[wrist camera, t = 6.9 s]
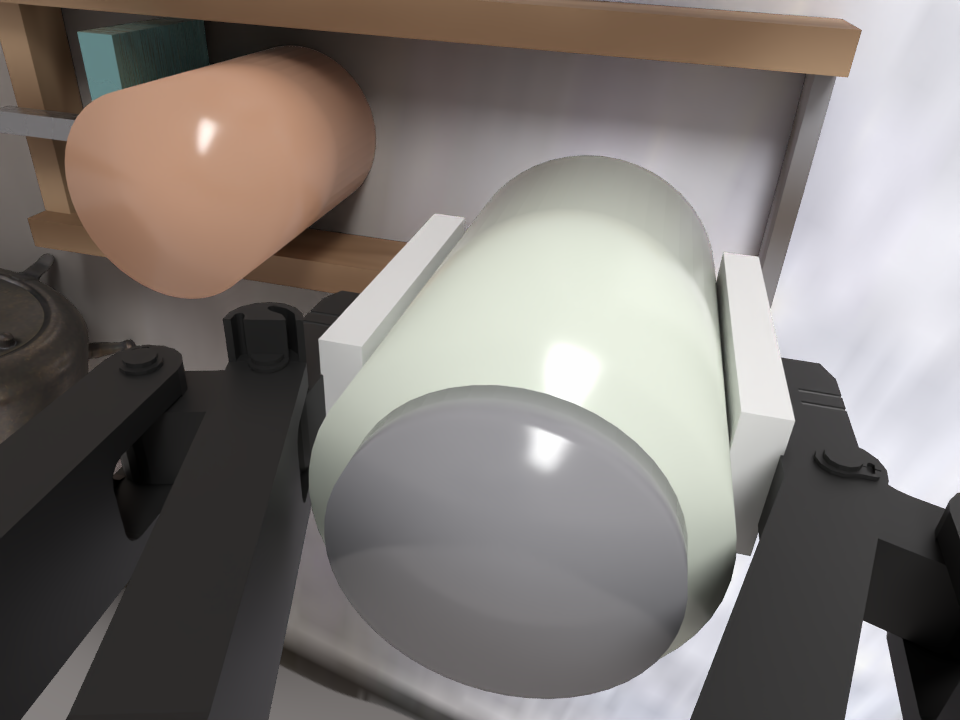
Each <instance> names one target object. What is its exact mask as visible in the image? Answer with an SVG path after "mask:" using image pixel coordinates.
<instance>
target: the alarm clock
mask: <svg viewBox="0 0 960 720" xmlns="http://www.w3.org/2000/svg"><path fill="white" fill-rule="evenodd" d="M53 260H54V256H52V255H51V254H45V255H43V256H42V257H40V258H39V260H38V261H37V262H36V263H34V264H33V265H32V266H30V267H29V268H28V269H27V270H25V271H24V272H19V273H16V272H12V271H9V270H5V269H1V268H0V444H1V443H2V442H3V441H5V440H6V439H7V438H8V437H10V436H11V435H12V434H13V433H15V432H16V431H17V430H18V429H20V428H21V427H22V426H23V425H25V424H26V423H27V422H28V421H29V420H31V419H32V418H33V417H34V416H36V415H37V414H38V413H39V412H41V411H42V410H43V409H44V408H46V407H47V406H48V405H49V404H51V403H52V402H53V401H54V400H56V399H57V398H58V397H59V396H61V395H62V394H63V393H64V392H66V391H67V390H68V389H69V388H71V387H72V386H73V385H74V384H76V383H77V382H78V381H79V380H81V379H82V378H83V377H84V376H85V375H87V374H88V359H90V358H99V357H102V356H106V355H110V354H113V353H116V352H119V351H123V350H126V349H129V348H131V347H134V346H135V343H134V342H133V341H132V340H126V341H123V342H119V343H118V342H114V343H110V342H99V343H89V337H88V331H87V326H86V324H85V321H84V319H83V317H82V316H81V314H80V313H79V311H78V310H77V309H76V308H75V306H74V305H73V304H72V303H71V302H70V301H69V300H68V299H66V298H65V297H64V296H63V295H62V294H60V293H59V292H57V291H56V290H54V289H53V288H51V287H49V286H48V285H46V284H44V283H42V282H40V277H41V276H42V275H43V274H44V273H45V272H46V271H47V270H48V269H49V268H50V267H51V266H52V264H53Z"/></svg>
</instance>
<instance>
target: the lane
mask: <svg viewBox="0 0 960 720" xmlns="http://www.w3.org/2000/svg"><path fill="white" fill-rule="evenodd" d="M60 7H62V8H73V9H84V10H96V11H107V12H118V13H129V14H141V15H152V16H163V17H174V18H186V19H197V20H208V21H219V22H231V23H242V24H253V25H264V26H276V27H287V28H298V29H309V30H321V31H332V32H343V33H354V34H366V35H377V36H388V37H399V38H411V39H422V40H433V41H444V42H456V43H467V44H478V45H490V46H501V47H512V48H523V49H535V50H546V51H557V52H568V53H580V54H591V55H602V56H613V57H625V58H636V59H647V60H658V61H670V62H681V63H692V64H703V65H715V66H726V67H737V68H748V69H760V70H771V71H782V72H793V73H805V74H806V77H805V81H804V85H803V88H802V92H801V96H800V100H799V104H798V107H797V111H796V115H795V119H794V123H793V126H792V130H791V134H790V138H789V141H788V145H787V149H786V153H785V157H784V160H783V164H782V168H781V172H780V176H779V179H778V183H777V187H776V191H775V195H774V198H773V202H772V206H771V210H770V214H769V217H768V221H767V225H766V229H765V233H764V236H763V240H762V244H761V248H760V251H759V255H758V257H759V261H760V265H761V270H762V274H763V279H764V283H765V288H766V292H767V297H768V301H769V306H770V309H771V305H772V302H773V298H774V295H775V291H776V288H777V284H778V281H779V277H780V273H781V270H782V266H783V263H784V259H785V256H786V252H787V249H788V245H789V242H790V238H791V235H792V231H793V228H794V224H795V221H796V217H797V214H798V210H799V207H800V203H801V200H802V196H803V193H804V189H805V185H806V182H807V178H808V175H809V171H810V168H811V164H812V161H813V157H814V154H815V150H816V147H817V143H818V140H819V136H820V133H821V129H822V126H823V122H824V119H825V115H826V112H827V108H828V105H829V101H830V98H831V94H832V90H833V87H834V83H835V80H836V76H839V77H848V76H849V72H850V69H851V65H852V62H853V58H854V55H855V52H856V48H857V45H858V41H859V38H860V34H861V31H862V30H861V29H859V28H857V27H855V26H853V25H852V24H850V23H848V22H846V21H844V20H843V19H834V18H820V17H807V16H794V15H781V14H767V13H754V12H741V11H727V10H714V9H701V8H688V7H674V6H661V5H648V4H635V3H621V2H608V1H595V0H0V41H1V45H2V49H3V52H4V56H5V60H6V64H7V67H8V71H9V75H10V79H11V82H12V86H13V90H14V94H15V97H16V101H17V105H18V107H23V108H31V109H40V110H48V111H57V112H65V113H73V114H80V113H81V111H82V110H83V107H82V102H81V98H80V93H79V89H78V84H77V80H76V75H75V71H74V66H73V62H72V57H71V53H70V48H69V44H68V39H67V35H66V30H65V26H64V21H63V17H62V12H61V8H60ZM26 139H27V142H28V146H29V150H30V154H31V157H32V161H33V165H34V168H35V172H36V176H37V180H38V183H39V187H40V191H41V195H42V198H43V202H44V206H45V210H46V211H43V212H41V213H39V214H36V215H34V216H32V217H29V218H28V222H29V225H30V229H31V233H32V236H33V240H34V243H35V246H38V247H44V248H51V249H57V250H63V251H70V252H76V253H82V254H89V255H95V256H101V257H106V256H105V255H104V254H103V253H102V251H101V250H100V249H99V248H98V247H97V245H96V244H95V243H94V241H93V240H92V239H91V237H90V236H89V234H88V233H87V231H86V230H85V228H84V226H83V224H82V222H81V221H80V219H79V217H78V215H77V212H76V210H75V208H74V205H73V203H72V200H71V196H70V193H69V190H68V185H67V180H66V174H65V149H66V144H67V141H62V140H54V139H46V138H39V137H31V136H26ZM406 244H407V242H400V241H393V240H386V239H379V238H372V237H365V236H358V235H351V234H344V233H337V232H330V231H323V230H316V229H308V228H307V229H306V230H304V231H303V232H302V233H301V234H299V235H298V236H297V237H295V238H294V239H293V240H291V241H290V242H289V243H288V244H286V245H285V246H284V247H282V248H281V249H280V250H279V251H277V252H276V253H275V254H273V255H272V256H271V257H269V258H268V259H267V260H266V261H264V262H263V263H262V264H260V265H259V266H258V267H257V268H255V269H254V270H253V271H251V272H250V273H249V274H247V275H246V276H245V277H244V278H242V279H247V280H253V281H259V282H266V283H272V284H278V285H285V286H291V287H297V288H304V289H310V290H316V291H323V292H329V293H337V292H339V291H348V292H355V293H362V292H363V291H364V289H365V288H366V287H367V286H368V285H369V284H370V283H371V282H372V281H373V280H374V279H375V278H376V276H377V275H378V274H379V273H380V272H381V271H382V270H383V269H384V268H385V267H386V266H387V265H388V263H389V262H390V261H391V260H392V259H393V258H394V257H395V256H396V255H397V254H398V253H399V252H400V250H401V249H402V248H403V247H404V246H405V245H406Z"/></svg>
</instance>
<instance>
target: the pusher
mask: <svg viewBox="0 0 960 720" xmlns="http://www.w3.org/2000/svg"><path fill="white" fill-rule="evenodd" d="M77 34H78V38H79V43H80V48H81V52H82V57H83V62H84V66H85V71H86V75H87V80H88V85H89V89H90V94H91V99H92V101H93V100H95V99H97V98H99V97H101V96H103V95H105V94H108V93H111V92H114V91H118V90H121V89H125V88H129V87H132V86H136V85H140V84H143V83H147V82H151V81H154V80H158V79H161V78H165V77H169V76H172V75H176V74H180V73H183V72H187V71H191V70H194V69H198V68H201V67H205V66H209V58H208V51H207V43H206V35H205V28H204V20H197V19H186V18H174V17H165V18H159V19H152V20H146V21H140V22H134V23H128V24H121V25H115V26H109V27H103V28H97V29H90V30H84V31H78V32H77ZM78 115H79V114H73V113H65V112H57V111H48V110H40V109H31V108H23V107H14V106H7V107H3V108H0V133H7V134H15V135H23V136H31V137H39V138H46V139H54V140H62V141H67V139H68V135H69V133H70V130H71V127H72V125H73V123H74V121H75V120H76V118H77V116H78Z"/></svg>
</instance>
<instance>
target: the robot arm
mask: <svg viewBox="0 0 960 720" xmlns="http://www.w3.org/2000/svg"><path fill="white" fill-rule="evenodd" d="M464 233H465V217H458V216H450V215H443V214H434V215H433V216H432V217H431V218H430V219H429V220H428V221H427V222H426V223H425V224H424V226H423V227H422V228H421V229H420V230H419V231H418V232H417V233H416V234H415V235H414V236H413V237H412V239H411V240H410V241H409V242H408V243H407V244H406V245H405V246H404V247H403V248H402V249H401V250H400V252H399V253H398V254H397V255H396V256H395V257H394V258H393V259H392V260H391V261H390V262H389V263H388V265H387V266H386V267H385V268H384V269H383V270H382V271H381V272H380V273H379V274H378V275H377V276H376V278H375V279H374V280H373V281H372V282H371V283H370V284H369V285H368V286H367V287H366V288H365V289H364V291H363V292H362V293H355V292H348V291H339V292H337V293H335V294H333V295H331V296H328V297H326V298H324V299H322V300H321V301H320V302H319V303H318V304H317V305H316V306H315V307H314V308H313V309H312V310H311V313H308V314H307V315H306V316H305V317H304V318H303V315H302V313H301V312H300V311H299V310H298V309H297V308H295V307H292V306H289V305H287V304H282V303H272V302H267V303H254V304H250V305H246V306H242V307H239V308H237V309H235V310H233V311H231V312H229V313H228V314H227V315H226V316H225V317H224V318H223V324H224V331H225V337H226V344H227V351H228V358H229V363H228V365H227V367H226V369H225V370H218V371H184V366H183V360H182V355H181V354H180V353H179V352H178V351H176V350H175V349H173V348H169V347H166V346H156V345H142V346H140V345H139V346H134V347H131V348H129V349H126V350H123V351H120V352H117V353H115V354H114V355H112V356H110V357H109V358H107V359H105V360H104V361H103V362H102V363H100V364H99V365H98V366H97V367H95V368H94V369H93V370H92V371H90V372H89V373H88V374H87V375H85V376H84V377H83V378H82V379H81V380H79V381H78V382H77V383H76V384H74V385H73V386H72V387H71V388H69V389H68V390H67V391H66V392H64V393H63V394H62V395H61V396H59V397H58V398H57V399H56V400H54V401H53V402H52V403H51V404H49V405H48V406H47V407H46V408H44V409H43V410H42V411H41V412H39V413H38V414H37V415H36V416H34V417H33V418H32V419H31V420H29V421H28V422H27V423H26V424H25V425H23V426H22V427H21V428H20V429H18V430H17V431H16V432H15V433H13V434H12V435H11V436H10V437H8V438H7V439H6V440H5V441H3V442H2V443H1V444H0V720H21V719H22V717H23V716H24V715H25V713H26V712H27V711H28V709H29V708H30V707H31V706H32V705H33V703H34V702H35V701H36V699H37V698H38V697H39V696H40V694H41V693H42V692H43V690H44V689H45V688H46V687H47V685H48V684H49V683H50V681H51V680H52V679H53V678H54V676H55V675H56V674H57V672H58V671H59V669H61V667H62V666H63V665H64V663H65V662H66V661H67V659H68V658H69V657H70V656H71V655H72V653H73V652H74V650H75V649H76V648H77V647H78V646H79V644H80V643H81V642H82V640H83V639H84V638H85V637H86V635H87V634H88V633H89V631H90V630H91V629H92V628H93V626H94V625H95V624H96V622H97V621H98V620H99V619H100V617H101V616H102V615H103V613H104V612H105V611H106V610H107V608H108V607H109V606H110V605H111V603H112V602H113V601H114V599H115V598H116V597H117V596H118V594H119V593H120V592H121V590H122V589H123V588H124V587H125V585H126V584H127V583H128V582H129V583H128V585H127V587H126V589H125V592H124V594H123V596H122V599H121V601H120V603H119V605H118V607H117V609H116V612H115V614H114V616H113V618H112V621H111V623H110V625H109V627H108V629H107V631H106V634H105V636H104V638H103V640H102V642H101V645H100V647H99V649H98V651H97V653H96V656H95V658H94V660H93V662H92V664H91V667H90V669H89V671H88V673H87V676H86V678H85V680H84V682H83V684H82V686H81V689H80V691H79V693H78V695H77V698H76V700H75V702H74V704H73V706H72V708H71V711H70V713H69V715H68V717H67V719H66V720H268V719H269V714H270V709H271V704H272V698H273V693H274V688H275V684H276V679H277V674H278V669H279V664H280V659H281V654H282V649H283V644H284V639H285V634H286V629H287V624H288V619H289V614H290V609H291V604H292V599H293V594H294V589H295V584H296V579H297V574H298V569H299V564H300V559H301V554H302V549H303V544H304V539H305V534H306V529H307V524H308V519H309V514H310V509H311V499H310V493H309V466H310V459H311V453H312V448H313V445H314V442H315V439H316V436H317V433H318V430H319V428H320V426H321V425H322V423H323V421H324V419H325V417H326V416H327V414H328V412H329V410H330V409H331V408H332V406H333V405H334V404H335V402H336V401H337V400H338V399H339V397H340V396H341V395H342V393H343V392H344V391H345V389H346V388H347V387H348V385H349V384H350V383H351V382H352V380H353V379H354V378H355V376H356V375H357V374H358V372H359V371H360V370H361V368H362V367H363V366H364V364H365V363H366V362H367V361H368V359H369V358H370V357H371V355H372V354H373V353H374V351H375V350H376V349H377V347H378V346H379V345H380V343H381V342H382V341H383V340H384V338H385V337H386V336H387V334H388V333H389V332H390V330H391V329H392V328H393V326H394V325H395V324H396V322H397V321H398V320H399V319H400V317H401V316H402V315H403V313H404V312H405V311H406V309H407V308H408V307H409V305H410V304H411V303H412V301H413V300H414V299H415V298H416V296H417V295H418V294H419V292H420V291H421V290H422V288H423V287H424V286H425V284H426V283H427V282H428V280H429V279H430V278H431V277H432V275H433V274H434V273H435V271H436V270H437V269H438V267H439V266H440V265H441V263H442V262H443V261H444V260H445V258H446V257H447V256H448V254H449V253H450V252H451V250H452V249H453V248H454V246H455V245H456V244H457V242H458V241H459V240H460V239H461V237H462V236H463V235H464ZM716 288H717V301H718V313H719V325H720V337H721V350H722V362H723V374H724V387H725V399H726V411H727V423H728V436H729V448H730V460H731V473H732V485H733V497H734V509H735V522H736V534H737V538H736V553H738V554H743V555H748V556H751V553H752V550H753V547H754V544H755V541H756V538H757V535H758V532H759V540H760V541H759V543H758V546H757V548H756V551H755V554H754V556H753V559H752V561H751V564H750V566H749V569H748V572H747V574H746V577H745V579H744V582H743V585H742V587H741V590H740V592H739V595H738V597H737V600H736V603H735V605H734V608H733V610H732V613H731V616H730V618H729V621H728V623H727V626H726V628H725V631H724V634H723V636H722V639H721V641H720V644H719V647H718V649H717V652H716V654H715V657H714V659H713V662H712V665H711V667H710V670H709V672H708V675H707V677H706V680H705V683H704V685H703V688H702V690H701V693H700V696H699V698H698V701H697V703H696V706H695V708H694V711H693V714H692V716H691V719H690V720H845V714H846V709H847V703H848V698H849V693H850V687H851V682H852V676H853V671H854V666H855V660H856V655H857V649H858V644H859V638H860V633H861V628H862V622H863V621H866V622H868V623H870V624H872V625H874V626H877V627H879V628H881V629H883V630H886V631H887V642H888V647H889V652H890V657H891V662H892V667H893V672H894V677H895V682H896V687H897V692H898V696H899V701H900V706H901V711H902V716H903V720H960V493H957V494H956V495H955V496H954V497H953V498H952V499H950V501H949V503H948V505H947V507H946V509H944V508H941V507H938V506H936V505H933V504H930V503H927V502H925V501H922V500H919V499H917V498H914V497H912V496H909V495H907V494H905V493H902V492H900V491H898V490H896V489H894V488H893V487H891V486H889V485H888V482H889V480H888V475H887V470H886V469H885V468H884V466H883V465H882V464H881V463H880V461H879V460H878V459H876V458H875V457H874V456H872V455H871V454H869V453H868V452H866V451H865V450H863V449H861V448H859V447H858V444H857V441H856V438H855V435H854V432H853V429H852V426H851V423H850V420H849V417H848V414H847V411H845V405H844V402H843V399H842V398H841V393H840V390H839V387H838V384H837V381H836V379H835V378H834V377H833V376H832V375H831V374H830V373H829V372H828V371H827V370H826V369H825V368H824V367H823V366H822V365H820V364H819V363H812V362H806V361H800V360H793V359H787V358H781V355H780V351H779V346H778V342H777V337H776V333H775V328H774V324H773V319H772V315H771V310H770V306H769V301H768V297H767V292H766V288H765V283H764V279H763V274H762V270H761V265H760V261H759V257H757V256H749V255H742V254H735V253H727V252H723V256H722V260H721V264H720V269H719V273H718V277H717V281H716ZM119 459H121V463H122V467H121V468H120V469H119V470H118V471H117V472H116V473H115V474H114V475H113V473H114V470H115V466H116V464H117V462H118V461H119ZM129 580H130V581H129Z"/></svg>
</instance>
